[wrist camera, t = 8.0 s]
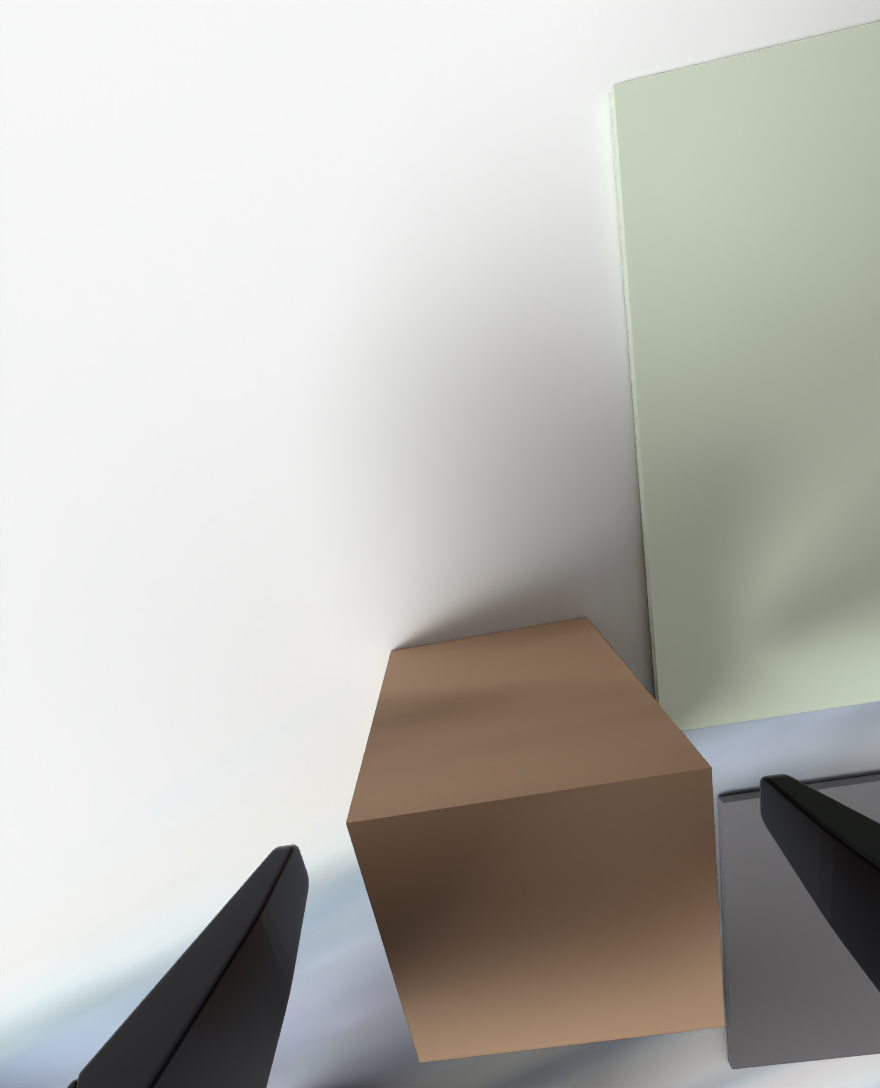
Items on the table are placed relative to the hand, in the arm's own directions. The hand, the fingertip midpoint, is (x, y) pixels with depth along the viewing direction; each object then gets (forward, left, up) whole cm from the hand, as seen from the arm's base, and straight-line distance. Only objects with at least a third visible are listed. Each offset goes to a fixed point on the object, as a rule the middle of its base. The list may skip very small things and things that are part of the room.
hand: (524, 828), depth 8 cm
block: (0, 0, -3) cm, 3 cm away
